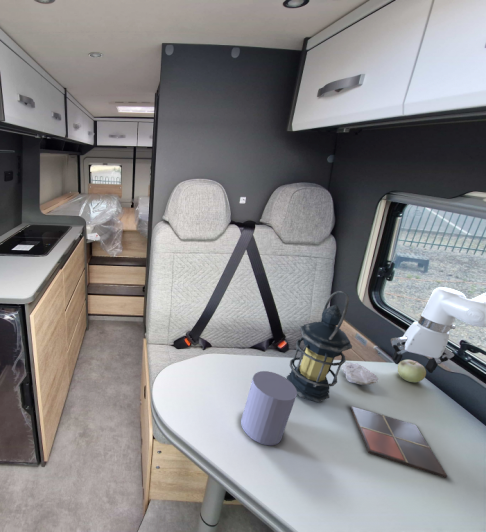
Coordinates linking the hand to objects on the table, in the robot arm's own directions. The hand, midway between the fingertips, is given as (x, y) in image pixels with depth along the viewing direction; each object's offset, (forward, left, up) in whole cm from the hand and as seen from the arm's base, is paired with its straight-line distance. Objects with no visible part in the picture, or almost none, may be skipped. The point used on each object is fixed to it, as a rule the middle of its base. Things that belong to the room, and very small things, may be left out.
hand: (411, 366), depth 107 cm
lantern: (+36, +24, -5) cm, 43 cm away
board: (+16, +34, -5) cm, 38 cm away
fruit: (0, 0, -5) cm, 5 cm away
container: (+50, +46, -5) cm, 68 cm away
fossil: (+18, +10, -5) cm, 21 cm away
